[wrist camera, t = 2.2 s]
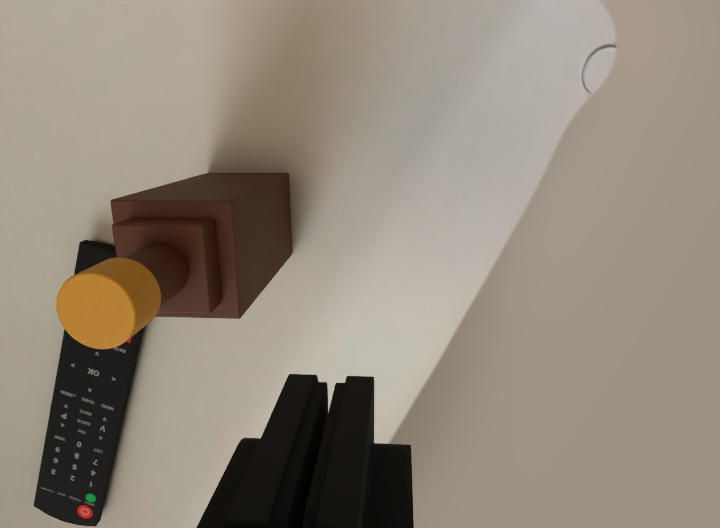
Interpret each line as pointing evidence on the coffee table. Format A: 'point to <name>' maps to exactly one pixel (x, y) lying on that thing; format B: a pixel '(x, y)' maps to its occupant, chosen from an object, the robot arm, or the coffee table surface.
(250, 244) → the bottle
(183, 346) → the coffee table surface
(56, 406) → the remote control
